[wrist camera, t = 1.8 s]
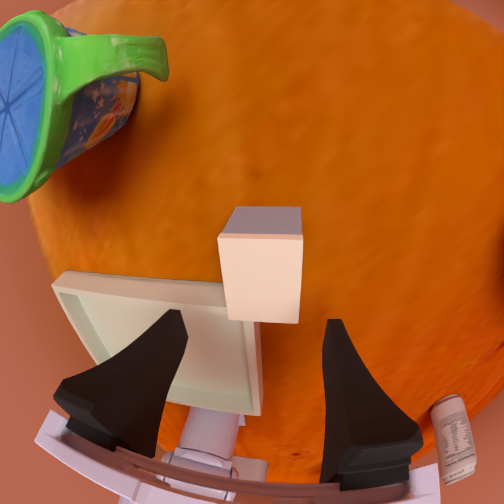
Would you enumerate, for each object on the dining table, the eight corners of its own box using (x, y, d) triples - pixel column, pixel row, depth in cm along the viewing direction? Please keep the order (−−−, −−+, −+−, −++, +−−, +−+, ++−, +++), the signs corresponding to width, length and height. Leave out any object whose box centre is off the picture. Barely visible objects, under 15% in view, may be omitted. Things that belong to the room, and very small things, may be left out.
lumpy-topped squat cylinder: (269, 460, 49) (265, 491, 41) (265, 470, 55) (261, 496, 48) (226, 454, 50) (219, 484, 42) (228, 465, 57) (222, 490, 49)
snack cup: (200, 11, 12) (115, -50, 3) (196, 152, 17) (106, 206, 9) (45, 60, 14) (-43, 73, 5) (49, 163, 19) (-33, 206, 10)
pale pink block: (298, 278, 21) (298, 323, 17) (241, 276, 22) (228, 319, 18) (301, 206, 18) (303, 240, 14) (235, 205, 19) (217, 238, 15)
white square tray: (263, 396, 31) (260, 416, 29) (119, 370, 35) (111, 385, 32) (257, 284, 22) (252, 309, 20) (66, 269, 25) (51, 284, 23)
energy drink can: (425, 414, 32) (435, 489, 19) (435, 398, 29) (450, 481, 16) (453, 405, 30) (467, 477, 18) (466, 388, 28) (485, 466, 15)
